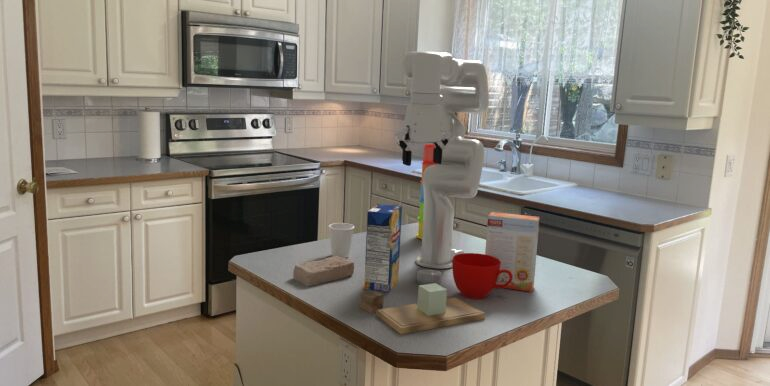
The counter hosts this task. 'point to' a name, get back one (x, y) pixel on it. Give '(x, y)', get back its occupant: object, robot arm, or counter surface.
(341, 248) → the dixie cup
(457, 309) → the cutting board
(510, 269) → the cracker box
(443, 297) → the sage block
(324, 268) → the brick
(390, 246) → the beverage box
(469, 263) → the ceramic cup
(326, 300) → the counter surface
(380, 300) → the walnut block
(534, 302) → the counter surface
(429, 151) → the stacking cups
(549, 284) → the counter surface
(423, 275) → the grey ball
